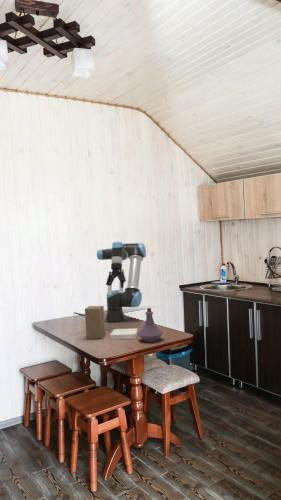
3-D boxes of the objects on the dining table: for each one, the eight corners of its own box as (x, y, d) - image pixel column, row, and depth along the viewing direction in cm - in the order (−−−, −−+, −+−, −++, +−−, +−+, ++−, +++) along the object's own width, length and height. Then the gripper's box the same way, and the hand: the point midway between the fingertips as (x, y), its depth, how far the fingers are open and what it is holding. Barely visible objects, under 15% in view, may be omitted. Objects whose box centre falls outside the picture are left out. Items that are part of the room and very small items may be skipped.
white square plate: (114, 333, 295) (113, 329, 295) (137, 332, 293) (137, 328, 293) (110, 339, 279) (110, 335, 279) (135, 338, 277) (135, 334, 277)
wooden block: (101, 339, 282) (99, 308, 281) (86, 338, 284) (84, 308, 283) (105, 335, 292) (103, 305, 291) (91, 335, 294) (89, 305, 293)
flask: (169, 339, 272) (167, 307, 271) (150, 345, 261) (149, 312, 260) (150, 335, 284) (148, 305, 283) (132, 341, 273) (130, 309, 272)
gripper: (102, 265, 310) (100, 295, 304) (123, 259, 291) (121, 291, 285) (110, 267, 314) (109, 296, 309) (131, 261, 296) (130, 292, 290)
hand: (115, 293), depth 297 cm, fingers open, 13 cm apart
